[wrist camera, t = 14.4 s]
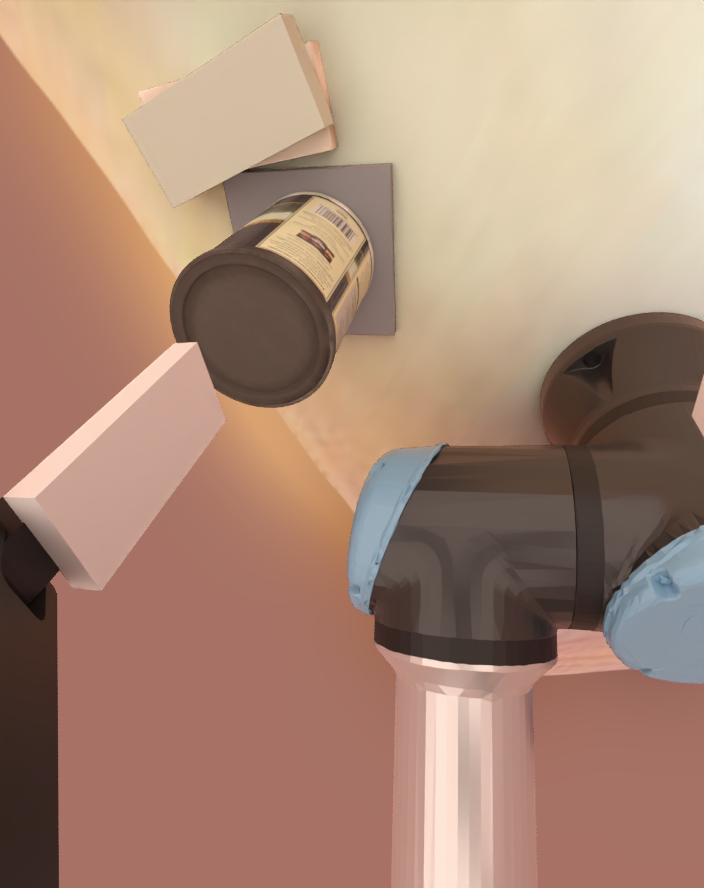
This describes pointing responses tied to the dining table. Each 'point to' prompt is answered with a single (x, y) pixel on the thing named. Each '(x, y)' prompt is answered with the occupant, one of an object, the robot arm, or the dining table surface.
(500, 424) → the dining table surface
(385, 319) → the slate mat
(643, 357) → the robot arm
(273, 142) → the upper offcut
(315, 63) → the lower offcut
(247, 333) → the coffee can
